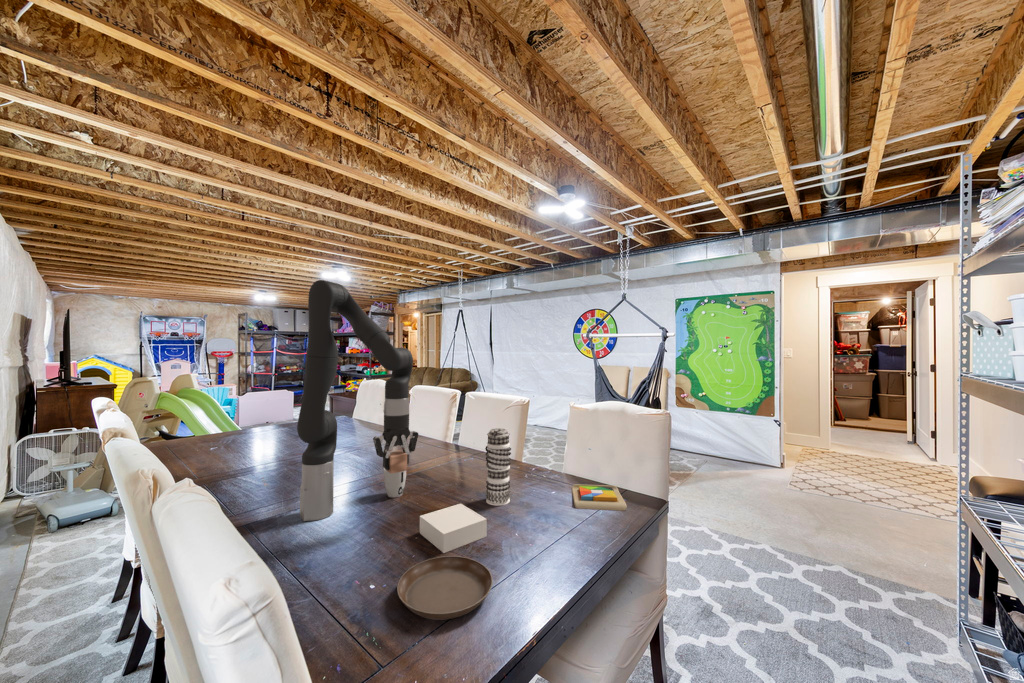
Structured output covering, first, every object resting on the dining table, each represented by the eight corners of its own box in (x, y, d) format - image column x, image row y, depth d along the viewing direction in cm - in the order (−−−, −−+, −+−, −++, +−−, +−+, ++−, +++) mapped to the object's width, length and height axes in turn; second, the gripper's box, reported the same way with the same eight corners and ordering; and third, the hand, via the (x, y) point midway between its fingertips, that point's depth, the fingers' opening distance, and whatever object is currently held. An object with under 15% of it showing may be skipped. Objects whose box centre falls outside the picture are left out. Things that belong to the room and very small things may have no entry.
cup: (402, 499, 137) (402, 471, 137) (380, 499, 137) (380, 471, 137) (409, 490, 145) (409, 464, 145) (387, 490, 145) (388, 463, 145)
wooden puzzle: (617, 491, 147) (617, 481, 147) (627, 512, 128) (627, 502, 128) (571, 489, 149) (571, 480, 149) (574, 510, 130) (574, 499, 130)
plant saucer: (493, 567, 96) (493, 554, 96) (491, 628, 75) (491, 611, 75) (410, 568, 95) (410, 555, 95) (384, 630, 75) (384, 613, 75)
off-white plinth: (443, 553, 102) (443, 534, 102) (419, 533, 113) (419, 515, 113) (486, 536, 111) (486, 519, 111) (460, 519, 122) (460, 503, 122)
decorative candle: (488, 507, 131) (488, 433, 131) (482, 497, 140) (483, 427, 140) (513, 504, 133) (514, 432, 133) (507, 494, 142) (507, 426, 142)
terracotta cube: (391, 473, 115) (391, 457, 115) (384, 469, 119) (385, 453, 119) (407, 470, 118) (407, 454, 118) (400, 466, 122) (400, 450, 122)
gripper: (378, 417, 111) (377, 476, 111) (423, 411, 120) (423, 466, 120) (368, 413, 117) (368, 469, 117) (413, 408, 126) (412, 460, 126)
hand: (396, 467), depth 119 cm, fingers closed on terracotta cube, 5 cm apart
